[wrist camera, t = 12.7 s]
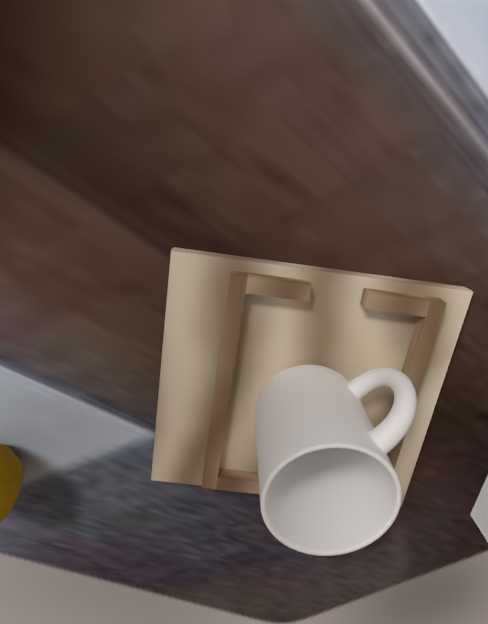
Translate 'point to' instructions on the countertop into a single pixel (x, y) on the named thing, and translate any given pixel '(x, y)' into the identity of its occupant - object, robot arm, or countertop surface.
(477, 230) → the countertop surface
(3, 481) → the apple
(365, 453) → the mug
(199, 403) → the board
